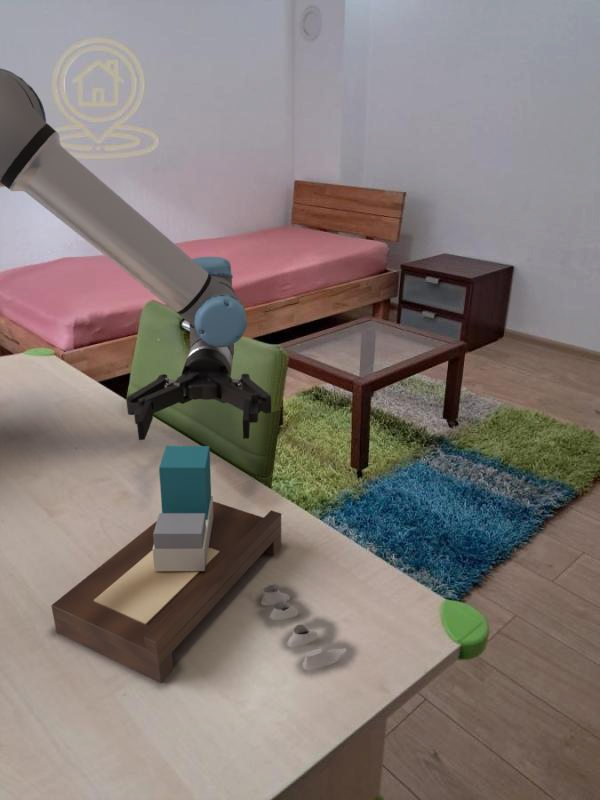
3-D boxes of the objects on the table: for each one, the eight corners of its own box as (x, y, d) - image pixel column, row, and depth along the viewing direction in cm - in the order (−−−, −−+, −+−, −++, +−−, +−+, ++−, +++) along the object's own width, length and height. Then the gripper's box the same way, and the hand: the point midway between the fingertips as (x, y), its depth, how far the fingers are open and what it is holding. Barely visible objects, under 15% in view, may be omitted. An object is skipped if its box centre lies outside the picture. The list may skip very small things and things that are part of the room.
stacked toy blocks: (168, 516, 80) (164, 445, 76) (213, 516, 80) (211, 445, 76) (154, 571, 70) (148, 493, 66) (205, 571, 70) (202, 493, 66)
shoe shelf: (57, 637, 67) (48, 593, 65) (192, 521, 87) (189, 484, 84) (161, 689, 62) (156, 643, 59) (281, 552, 81) (281, 513, 78)
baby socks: (255, 606, 72) (254, 588, 71) (296, 591, 74) (296, 573, 73) (306, 682, 62) (307, 663, 61) (352, 662, 65) (353, 643, 64)
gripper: (285, 390, 104) (289, 453, 84) (131, 391, 102) (99, 456, 83) (285, 346, 100) (289, 402, 81) (126, 348, 99) (92, 405, 80)
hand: (193, 430), depth 82 cm, fingers open, 13 cm apart
